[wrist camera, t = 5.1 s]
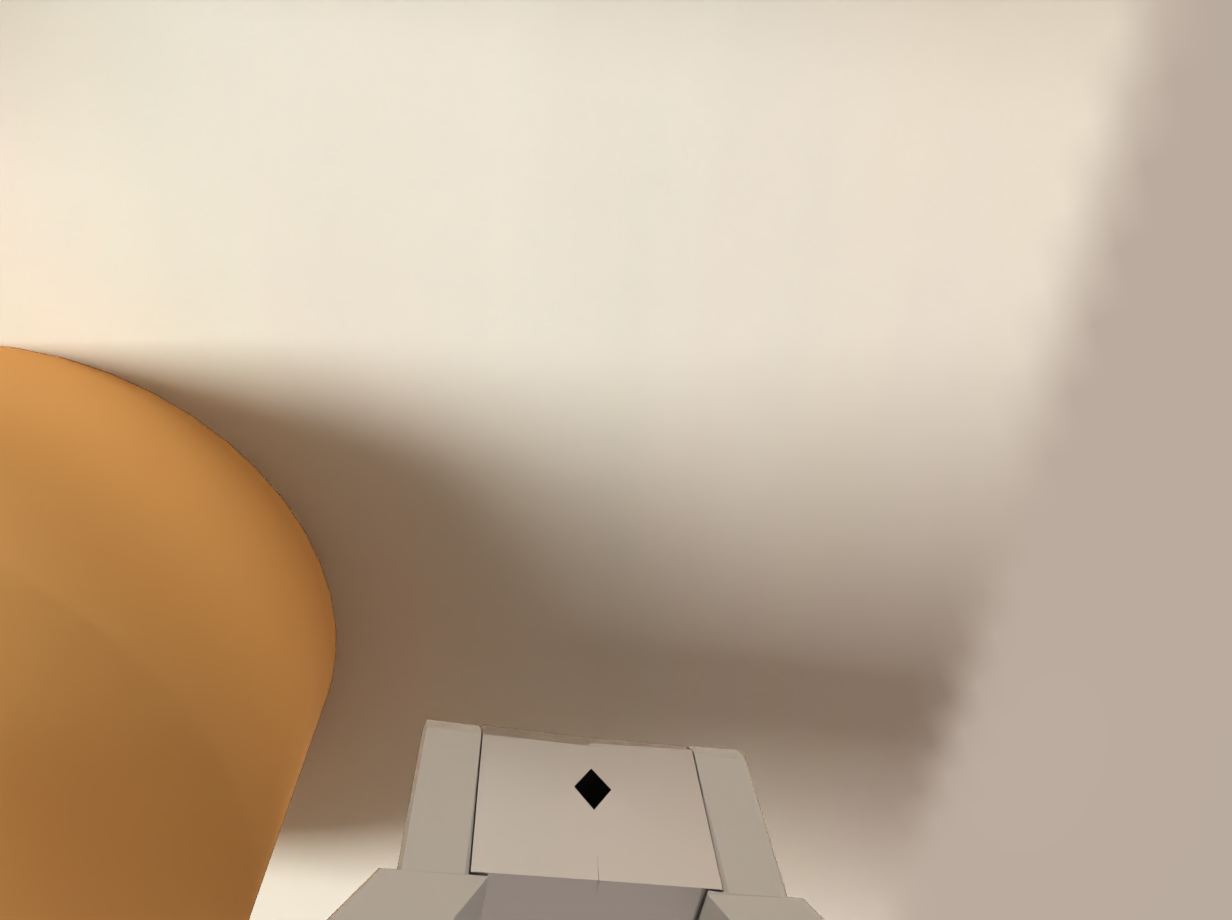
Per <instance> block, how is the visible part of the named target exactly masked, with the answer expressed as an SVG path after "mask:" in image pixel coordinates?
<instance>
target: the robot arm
mask: <svg viewBox="0 0 1232 920" xmlns="http://www.w3.org/2000/svg"><path fill="white" fill-rule="evenodd" d="M327 920H824V919H823V918H822V917H821V916H820V915H819V914H818V913H817V912H816V911H815V910H814V909H813V908H812V907H811V906H810V905H809V903H808V902H807V901H806V900H805V899H802V898H792V897H787V894H786V890H785V887H784V884H783V881H782V877H781V874H780V871H779V867H778V864H777V861H776V858H775V854H774V851H773V848H772V844H771V841H770V838H769V835H768V831H767V828H766V825H765V821H764V818H763V815H762V812H761V808H760V805H759V802H758V798H757V795H756V792H755V789H754V785H753V782H752V779H751V775H750V772H749V769H748V766H747V762H746V759H745V757H744V756H743V755H742V754H741V752H740V751H739V750H737V749H724V748H711V747H699V746H687V747H684V746H677V745H666V744H655V743H644V742H632V741H621V740H610V739H599V738H588V737H578V736H570V735H562V734H553V733H545V732H537V731H529V730H521V729H512V728H504V727H496V726H488V725H483V726H482V729H481V727H480V726H478V725H470V724H462V723H454V722H446V721H438V720H430V719H427V721H426V723H425V726H424V728H423V731H422V736H421V742H420V747H419V753H418V758H417V764H416V769H415V775H414V780H413V785H412V791H411V796H410V802H409V807H408V813H407V818H406V824H405V829H404V834H403V840H402V845H401V851H400V856H399V862H398V867H397V869H383V868H379V869H378V870H377V871H376V872H375V873H374V874H373V875H372V876H371V877H370V878H369V879H368V880H367V881H366V882H365V883H364V884H363V885H361V886H360V887H359V888H358V889H357V890H356V891H355V892H354V893H353V894H352V895H351V896H350V897H349V898H348V899H347V900H346V901H345V902H344V903H343V904H342V905H341V906H340V907H339V908H338V909H337V910H336V911H335V912H334V913H333V914H332V915H331V916H330V917H329V918H328V919H327Z"/></svg>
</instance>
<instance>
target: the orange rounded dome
mask: <svg viewBox="0 0 1232 920" xmlns="http://www.w3.org/2000/svg"><path fill="white" fill-rule="evenodd" d="M335 657H336V626H335V619H334V613H333V607H332V600H331V595H330V592H329V589H328V586H327V582H326V579H325V576H324V573H323V570H322V567H321V564H320V562H319V560H318V558H317V556H316V554H315V552H314V549H313V547H312V545H311V543H310V541H309V539H308V537H307V535H306V533H305V531H304V530H303V528H302V527H301V525H300V524H299V522H298V521H297V519H296V518H295V516H294V515H293V513H292V512H291V510H290V509H289V507H288V506H287V504H286V503H285V501H284V500H283V499H282V498H281V496H280V495H279V494H278V493H277V492H276V491H275V489H274V488H273V487H272V486H271V485H270V484H269V482H268V481H267V480H266V479H265V478H264V477H263V475H262V474H261V473H260V472H259V471H258V470H257V469H256V468H255V467H254V466H253V465H252V464H251V463H250V462H248V461H247V460H246V459H245V458H244V457H243V456H242V455H241V454H240V453H239V452H238V451H237V450H235V449H234V448H233V447H232V446H231V445H230V444H229V443H228V442H227V441H225V440H224V439H223V438H221V437H220V436H219V435H217V434H216V433H214V432H213V431H212V430H210V429H209V428H208V427H206V426H205V425H204V424H202V423H201V422H199V421H198V420H197V419H195V418H194V417H193V416H191V415H190V414H188V413H186V412H184V411H183V410H181V409H179V408H178V407H176V406H174V405H172V404H171V403H169V402H167V401H166V400H164V399H162V398H160V397H159V396H157V395H155V394H154V393H152V392H150V391H147V390H145V389H143V388H141V387H139V386H136V385H134V384H132V383H130V382H127V381H125V380H123V379H121V378H118V377H116V376H114V375H112V374H110V373H107V372H104V371H101V370H98V369H95V368H92V367H89V366H86V365H83V364H80V363H77V362H74V361H70V360H67V359H64V358H61V357H56V356H51V355H47V354H42V353H37V352H33V351H28V350H23V349H19V348H12V347H2V346H0V920H249V918H250V915H251V912H252V909H253V907H254V904H255V901H256V898H257V895H258V892H259V889H260V886H261V884H262V881H263V878H264V875H265V872H266V869H267V866H268V864H269V861H270V858H271V855H272V852H273V849H274V846H275V843H276V841H277V838H278V835H279V832H280V829H281V826H282V823H283V821H284V818H285V815H286V812H287V809H288V806H289V803H290V800H291V798H292V795H293V792H294V789H295V786H296V783H297V780H298V778H299V775H300V772H301V769H302V766H303V763H304V760H305V758H306V755H307V752H308V749H309V746H310V743H311V740H312V737H313V735H314V732H315V729H316V726H317V723H318V720H319V717H320V715H321V712H322V709H323V706H324V703H325V700H326V697H327V694H328V692H329V689H330V686H331V681H332V675H333V669H334V663H335Z"/></svg>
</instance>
